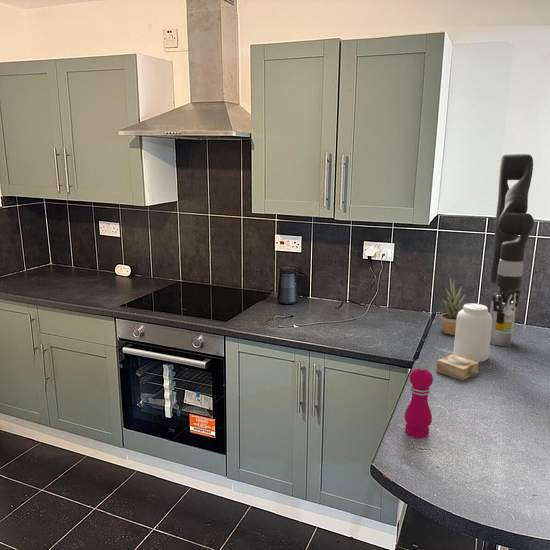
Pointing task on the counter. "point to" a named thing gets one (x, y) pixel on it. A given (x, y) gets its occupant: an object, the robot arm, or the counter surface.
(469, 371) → the pedestal
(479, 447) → the counter surface
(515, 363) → the counter surface
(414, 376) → the pepper mill
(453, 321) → the potted plant
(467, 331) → the white jar
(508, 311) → the supplement bottle
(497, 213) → the robot arm
